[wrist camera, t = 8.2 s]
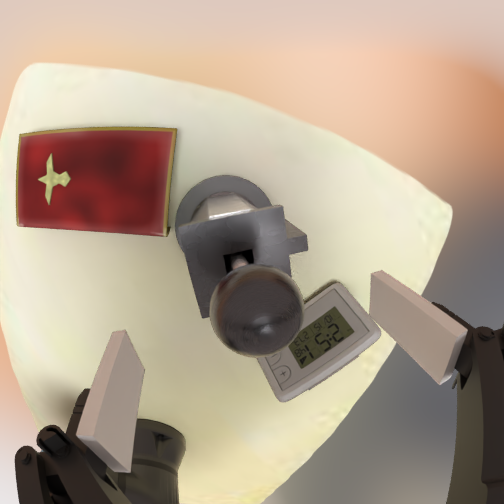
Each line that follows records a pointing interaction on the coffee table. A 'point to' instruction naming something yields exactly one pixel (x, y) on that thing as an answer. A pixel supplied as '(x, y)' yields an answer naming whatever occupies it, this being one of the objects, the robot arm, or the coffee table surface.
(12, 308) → the coffee table surface
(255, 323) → the ball knob lever
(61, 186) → the hardcover book
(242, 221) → the grey blocky piece
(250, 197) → the trivet
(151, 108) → the coffee table surface
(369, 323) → the digital clock
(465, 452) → the robot arm
